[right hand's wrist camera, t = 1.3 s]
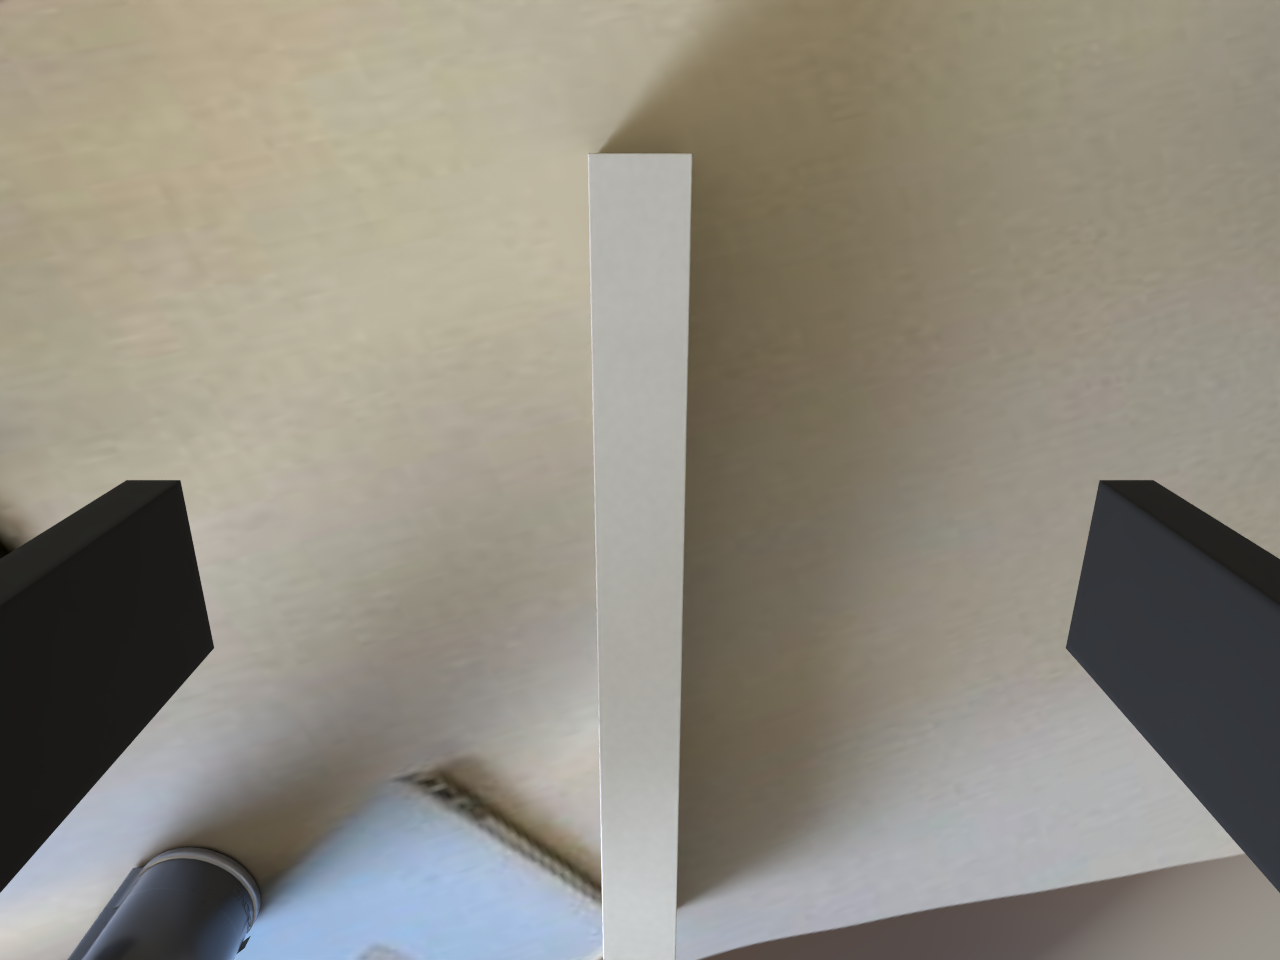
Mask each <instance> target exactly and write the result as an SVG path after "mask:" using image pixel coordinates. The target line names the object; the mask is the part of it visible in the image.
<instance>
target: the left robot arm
mask: <svg viewBox="0 0 1280 960" xmlns="http://www.w3.org/2000/svg"><path fill="white" fill-rule="evenodd" d="M260 904H261V900H260V893H259V889H258V887H257V885H256V883H255V881H254V879H253V878H252V877H251V875H250V874H249V873H248V872H247V871H246V870H245V869H244V868H243V867H242V866H241V865H240V864H238V863H237V862H235V861H234V860H232V859H230V858H229V857H227V856H225V855H222V854H220V853H217V852H214V851H211V850H207V849H202V848H190V847H188V848H177V849H172V850H168V851H165V852H163V853H161V854H159V855H157V856H155V857H154V858H153V859H151V860H150V861H149V862H148V863H147V864H146V866H145V867H140V868H133V869H132V870H131V872H130V873H129V875H128V876H127V877H126V879H125V880H124V882H123V883H122V884H121V886H120V887H119V889H118V890H117V891H116V893H115V894H114V896H113V897H112V898H111V900H110V901H109V903H108V904H107V905H106V907H105V908H104V910H103V911H102V912H101V914H100V915H99V917H98V918H97V919H96V921H95V922H94V924H93V925H92V926H91V928H90V929H89V931H88V932H87V933H86V935H85V936H84V938H83V939H82V940H81V942H80V943H79V945H78V946H77V947H76V949H75V950H74V952H73V953H72V954H71V956H70V957H69V959H68V960H234V958H235V956H236V954H237V953H239V952H240V951H241V950H243V949H244V948H245V946H246V944H247V942H248V940H249V938H250V937H248V938H247V939H246V940H245V941H243V940H244V938H245V936H246V934H247V933H248V932H249V930H250V929H251V927H252V925H253V923H254V921H255V919H256V917H257V915H258V913H259V910H260Z"/></svg>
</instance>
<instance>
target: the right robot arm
mask: <svg viewBox="0 0 1280 960" xmlns="http://www.w3.org/2000/svg"><path fill="white" fill-rule="evenodd" d="M213 649H214V645H213V640H212V635H211V630H210V625H209V620H208V615H207V611H206V606H205V601H204V596H203V591H202V586H201V581H200V576H199V571H198V566H197V561H196V556H195V551H194V546H193V541H192V536H191V531H190V526H189V521H188V516H187V511H186V506H185V501H184V496H183V491H182V486H181V481H180V480H126V481H125V482H123V483H122V484H120V485H118V486H117V487H115V488H114V489H112V490H110V491H109V492H107V493H106V494H104V495H102V496H101V497H99V498H98V499H96V500H94V501H93V502H91V503H90V504H88V505H86V506H85V507H83V508H82V509H80V510H78V511H77V512H75V513H74V514H72V515H70V516H69V517H67V518H65V519H64V520H62V521H61V522H59V523H57V524H56V525H54V526H53V527H51V528H49V529H48V530H46V531H45V532H43V533H41V534H40V535H38V536H37V537H35V538H33V539H32V540H30V541H29V542H27V543H25V544H24V545H22V546H21V547H19V548H17V549H16V550H14V551H13V552H11V553H9V554H8V555H6V556H5V557H3V558H1V559H0V892H1V891H2V890H3V889H4V888H5V887H6V886H7V884H8V883H9V882H10V881H11V880H12V879H13V877H14V876H15V875H16V874H17V873H18V872H19V871H20V869H21V868H22V867H23V866H24V865H25V864H26V863H27V861H28V860H29V859H30V858H31V857H32V856H33V855H34V853H35V852H36V851H37V850H38V849H39V848H40V847H41V845H42V844H43V843H44V842H45V841H46V840H47V839H48V837H49V836H50V835H51V834H52V833H53V832H54V831H55V829H56V828H57V827H58V826H59V825H60V824H61V823H62V821H63V820H64V819H65V818H66V817H67V816H68V815H69V813H70V812H71V811H72V810H73V809H74V808H75V807H76V805H77V804H78V803H79V802H80V801H81V800H82V799H83V797H84V796H85V795H86V794H87V793H88V792H89V790H90V789H91V788H92V787H93V786H94V785H95V784H96V782H97V781H98V780H99V779H100V778H101V777H102V776H103V774H104V773H105V772H106V771H107V770H108V769H109V768H110V766H111V765H112V764H113V763H114V762H115V761H116V760H117V758H118V757H119V756H120V755H121V754H122V753H123V752H124V750H125V749H126V748H127V747H128V746H129V745H130V744H131V742H132V741H133V740H134V739H135V738H136V737H137V736H138V734H139V733H140V732H141V731H142V730H143V729H144V728H145V726H146V725H147V724H148V723H149V722H150V721H151V720H152V718H153V717H154V716H155V715H156V714H157V713H158V712H159V710H160V709H161V708H162V707H163V706H164V705H165V704H166V702H167V701H168V700H169V699H170V698H171V697H172V695H173V694H174V693H175V692H176V691H177V690H178V689H179V687H180V686H181V685H182V684H183V683H184V682H185V681H186V679H187V678H188V677H189V676H190V675H191V674H192V673H193V671H194V670H195V669H196V668H197V667H198V666H199V665H200V663H201V662H202V661H203V660H204V659H205V658H206V657H207V655H208V654H209V653H210V652H211V651H212V650H213ZM1066 649H1067V650H1068V651H1069V652H1070V653H1071V654H1072V655H1073V657H1074V658H1075V659H1076V660H1077V661H1078V662H1079V663H1080V665H1081V666H1082V667H1083V668H1084V669H1085V670H1086V671H1087V673H1088V674H1089V675H1090V676H1091V677H1092V678H1093V679H1094V681H1095V682H1096V683H1097V684H1098V685H1099V686H1100V687H1101V689H1102V690H1103V691H1104V692H1105V693H1106V694H1107V695H1108V697H1109V698H1110V699H1111V700H1112V701H1113V702H1114V704H1115V705H1116V706H1117V707H1118V708H1119V709H1120V710H1121V712H1122V713H1123V714H1124V715H1125V716H1126V717H1127V718H1128V720H1129V721H1130V722H1131V723H1132V724H1133V725H1134V726H1135V728H1136V729H1137V730H1138V731H1139V732H1140V733H1141V734H1142V736H1143V737H1144V738H1145V739H1146V740H1147V741H1148V742H1149V744H1150V745H1151V746H1152V747H1153V748H1154V749H1155V750H1156V752H1157V753H1158V754H1159V755H1160V756H1161V757H1162V758H1163V760H1164V761H1165V762H1166V763H1167V764H1168V765H1169V766H1170V768H1171V769H1172V770H1173V771H1174V772H1175V773H1176V774H1177V776H1178V777H1179V778H1180V779H1181V780H1182V781H1183V782H1184V784H1185V785H1186V786H1187V787H1188V788H1189V789H1190V791H1191V792H1192V793H1193V794H1194V795H1195V796H1196V797H1197V799H1198V800H1199V801H1200V802H1201V803H1202V804H1203V805H1204V807H1205V808H1206V809H1207V810H1208V811H1209V812H1210V813H1211V815H1212V816H1213V817H1214V818H1215V819H1216V820H1217V821H1218V823H1219V824H1220V825H1221V826H1222V827H1223V828H1224V829H1225V831H1226V832H1227V833H1228V834H1229V835H1230V836H1231V837H1232V839H1233V840H1234V841H1235V842H1236V843H1237V844H1238V845H1239V847H1240V848H1241V849H1242V850H1243V851H1244V852H1245V853H1246V855H1247V856H1248V857H1249V858H1250V859H1251V860H1252V861H1253V863H1254V864H1255V865H1256V866H1257V867H1258V868H1259V869H1260V871H1261V872H1262V873H1263V874H1264V875H1265V876H1266V877H1267V879H1268V880H1269V881H1270V882H1271V883H1272V884H1273V886H1274V887H1275V888H1276V889H1277V890H1278V891H1279V892H1280V559H1279V558H1277V557H1275V556H1274V555H1272V554H1271V553H1269V552H1267V551H1266V550H1264V549H1263V548H1261V547H1259V546H1258V545H1256V544H1255V543H1253V542H1251V541H1250V540H1248V539H1247V538H1245V537H1243V536H1242V535H1240V534H1239V533H1237V532H1235V531H1234V530H1232V529H1231V528H1229V527H1227V526H1226V525H1224V524H1223V523H1221V522H1219V521H1218V520H1216V519H1215V518H1213V517H1211V516H1210V515H1208V514H1206V513H1205V512H1203V511H1202V510H1200V509H1198V508H1197V507H1195V506H1194V505H1192V504H1190V503H1189V502H1187V501H1186V500H1184V499H1182V498H1181V497H1179V496H1178V495H1176V494H1174V493H1173V492H1171V491H1170V490H1168V489H1166V488H1165V487H1163V486H1162V485H1160V484H1158V483H1157V482H1155V481H1154V480H1100V481H1099V486H1098V491H1097V496H1096V501H1095V506H1094V511H1093V516H1092V521H1091V526H1090V531H1089V536H1088V541H1087V546H1086V551H1085V556H1084V561H1083V566H1082V571H1081V576H1080V581H1079V586H1078V591H1077V596H1076V601H1075V606H1074V611H1073V615H1072V620H1071V625H1070V630H1069V635H1068V640H1067V645H1066Z"/></svg>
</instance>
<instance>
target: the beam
mask: <svg viewBox="0 0 1280 960" xmlns="http://www.w3.org/2000/svg"><path fill="white" fill-rule="evenodd" d="M588 180H589V233H590V285H591V338H592V390H593V443H594V495H595V548H596V600H597V653H598V705H599V758H600V811H601V863H602V916H603V960H676V916H677V868H678V820H679V773H680V725H681V677H682V630H683V582H684V534H685V486H686V439H687V391H688V343H689V296H690V248H691V200H692V153H589V154H588Z"/></svg>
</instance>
